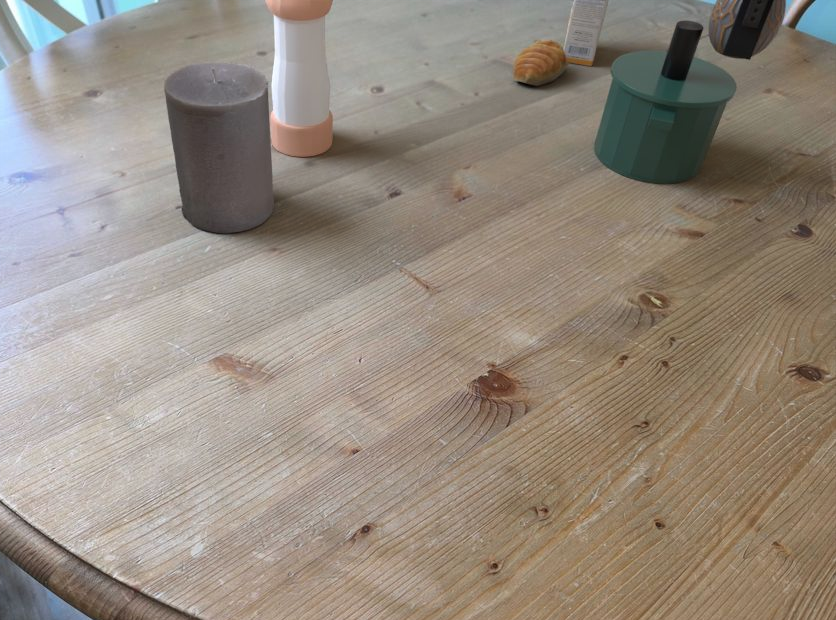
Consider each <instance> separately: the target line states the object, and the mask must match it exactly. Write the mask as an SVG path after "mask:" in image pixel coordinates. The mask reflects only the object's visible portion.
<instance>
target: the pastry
mask: <svg viewBox="0 0 836 620" xmlns="http://www.w3.org/2000/svg"><path fill="white" fill-rule="evenodd" d="M563 49H564V46H562V45H561V44H560V43H559V42H557V41H555V40H552V39H545V40H540V39H539V40H538V39H537V41H536V42H534V43H531V45H530V46H527V47H526V48H525V49H523V50H522V51H521V52H520V53H519V54H518V55H517V56H516V58H515V60H514V66H513V67H514V68H513V72H512V78H513V79H514V82H520V83H523V84H528V85H532V86H536V87H538V86H542V85H545V84H549V83H551V82H553V81H555V80H556V79H558V78H559V77H560V76H561V75H563V72H564V71H565V70H566V69H567V67H568V66H569V63H568V61H567V58H566V54H565V53H564V50H563Z"/></svg>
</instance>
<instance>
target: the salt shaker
mask: <svg viewBox="0 0 836 620" xmlns="http://www.w3.org/2000/svg"><path fill="white" fill-rule="evenodd" d="M333 2H334V0H265V3H266V6H267V8H268V11H269V12H270V14H272V15H273V32H274V33H273V34H274V35H273V36H274V57H273V58H274V59H273V68H272V77H271V98H272V110H271V112H270V114H269V121H270V138H271V145H272V146H273V148H274V149H275V150H276V151H278V152H279V153H282V154H284V155H287V156H291V157H299V158H305V157H315V156H318V155H322V154H324V153H325V152H328V150H330V149H331V147H332V145H333V133H334V132H333V126H334V125H333V123H334V117H333V116H334V115H333V113H332V111H331V110H330V107H331V104H330V103H331V81H330V74H329V67H328V61H327V54H326V16H327V15H328V14H329V13H330V11H331V8H332V6H333Z"/></svg>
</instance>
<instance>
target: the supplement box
mask: <svg viewBox="0 0 836 620" xmlns="http://www.w3.org/2000/svg"><path fill="white" fill-rule="evenodd" d="M609 1H610V0H573V1H572V5H571V10H570V14H569V18H568V25H567V29H566V33H565V39H564V44H563V50H564V53H565V54H566V58H567V61H568V64H575V65H576V64H577V65H582V66H589V67H592V66H593V64H594V61H595V56H596V52H597V49H598V45H599V41H600V37H601V32H602V28H603V24H604V20H605V17H606V13H607V8H608V4H609Z"/></svg>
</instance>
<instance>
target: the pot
mask: <svg viewBox="0 0 836 620" xmlns="http://www.w3.org/2000/svg"><path fill="white" fill-rule="evenodd" d="M610 83H611V84H610V87H609V90H608V94H607V98H606V100H605V101H606V102H605V104H604V108H603V112H602V114H601V115H602V116H601V119H600V123H599V127H598V130H597V134H596V137H595V141H594V146H593V150H594V154H595V156H596V158H597V159H598V160H599V162H600V163H602V164H603V165H604V166H605V167H606V168H608V169H609V170H611V171H613V172H614V173H616V174H619V175H621V176H624V177H626V178H629V179H632V180H635V181H639V182H644V183H650V184H660V185H661V184H662V185H665V184H666V185H669V184H671V185H672V184H678V183H683V182H686V181H688V180H691V179H693V178H694V177H695V176H697V175H698V174H699V172H700V171H701V169H702V167H703V165H704V162H705V160H706V157H707V154H708V152H709V149H710V147H711V145H712V142H713V139H714V137H715V134H716V132H717V129H718V127H719V124H720V122H721V119H722V117H723V114H724V112H725V109H726V107H727V104H728V102H726V103H724V104H722V105H719V106H715V107H708V108H682V107H674V106H668V105H664V104H659V103H655V102H652V101H649V100H646V99H643V98H640V97H638V96H636V95H634V94H632V93H630V92H628V91H626V90H625V89H623V88H622V87H620V86H619V85H618V84H617V83H616V82H615V81H614V79H613V78H612V79H611V82H610Z"/></svg>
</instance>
